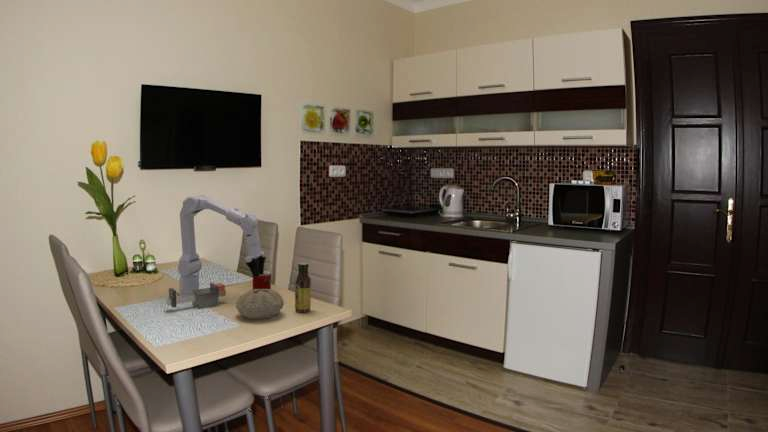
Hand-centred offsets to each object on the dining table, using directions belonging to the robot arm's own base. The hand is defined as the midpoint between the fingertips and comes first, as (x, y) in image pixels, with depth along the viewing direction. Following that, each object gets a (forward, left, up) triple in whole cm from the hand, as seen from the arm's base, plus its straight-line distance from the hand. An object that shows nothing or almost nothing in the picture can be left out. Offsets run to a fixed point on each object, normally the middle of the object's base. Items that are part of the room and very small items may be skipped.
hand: (258, 275), depth 206 cm
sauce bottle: (+23, +8, -11) cm, 27 cm away
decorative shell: (+18, -8, -11) cm, 23 cm away
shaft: (-7, -24, -9) cm, 26 cm away
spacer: (-7, -15, -6) cm, 17 cm away
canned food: (-4, +4, -11) cm, 13 cm away
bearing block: (-7, -20, -11) cm, 24 cm away
